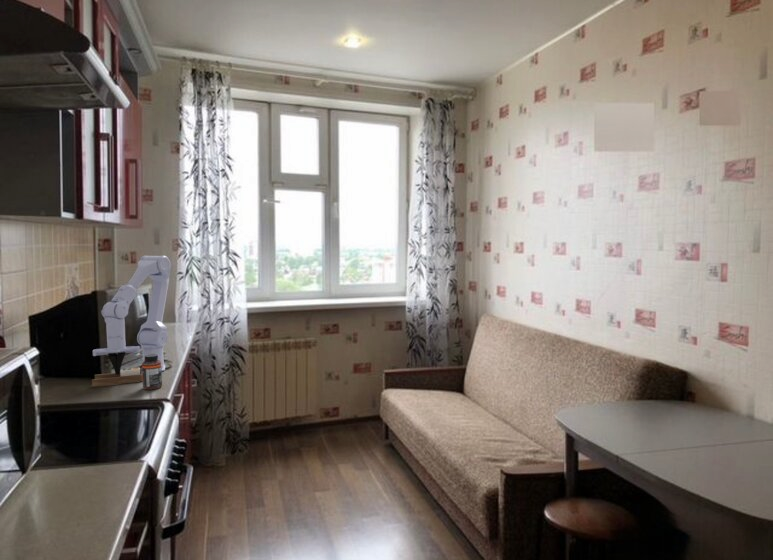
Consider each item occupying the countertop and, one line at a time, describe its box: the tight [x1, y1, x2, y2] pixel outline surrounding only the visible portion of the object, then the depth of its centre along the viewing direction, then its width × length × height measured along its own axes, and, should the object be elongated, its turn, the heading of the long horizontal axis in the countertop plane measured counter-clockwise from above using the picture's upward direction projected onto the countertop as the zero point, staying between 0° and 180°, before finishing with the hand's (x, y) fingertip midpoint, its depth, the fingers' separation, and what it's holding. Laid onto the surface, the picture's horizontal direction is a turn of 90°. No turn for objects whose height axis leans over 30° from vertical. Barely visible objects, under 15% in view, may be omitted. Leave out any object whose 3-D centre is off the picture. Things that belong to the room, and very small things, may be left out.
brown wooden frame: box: [91, 370, 143, 388], centre depth 180 cm, size 7×16×2 cm, turn 113°
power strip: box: [120, 366, 141, 376], centre depth 181 cm, size 3×6×4 cm, turn 113°
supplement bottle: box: [141, 354, 163, 391], centre depth 172 cm, size 6×6×11 cm
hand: (117, 373), depth 179 cm, fingers closed
